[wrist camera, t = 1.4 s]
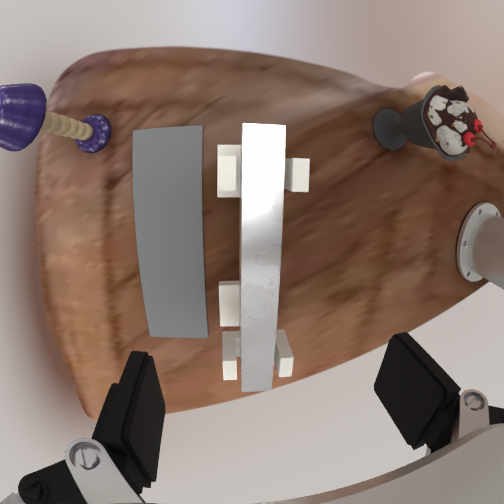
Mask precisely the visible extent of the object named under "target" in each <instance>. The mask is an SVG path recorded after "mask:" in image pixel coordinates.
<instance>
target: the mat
mask: <svg viewBox="0 0 504 504" xmlns="http://www.w3.org/2000/svg"><path fill="white" fill-rule="evenodd" d="M202 165H203V126H181V127H165V128H153V129H143V130H133V195H134V214H135V228H136V240H137V251H138V260H139V268H140V276H141V284H142V291H143V297H144V304H145V310H146V316H147V321H148V327H149V332H150V337H173V338H208V323H207V307H206V290H205V269H204V242H203V187H202Z"/></svg>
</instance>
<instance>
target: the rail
mask: <svg viewBox="0 0 504 504" xmlns="http://www.w3.org/2000/svg"><path fill="white" fill-rule="evenodd" d="M284 165H285V126H284V125H267V124H243V125H242V128H241V151H240V241H239V333H240V380H241V391H242V392H251V391H268V390H271V389H272V378H273V366H274V354H275V341H276V328H277V314H278V299H279V282H280V265H281V245H282V223H283V198H284Z"/></svg>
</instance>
